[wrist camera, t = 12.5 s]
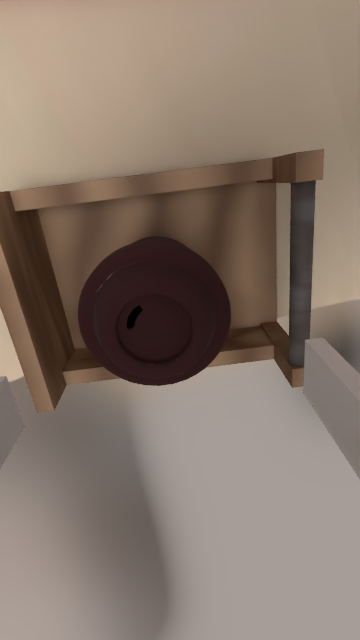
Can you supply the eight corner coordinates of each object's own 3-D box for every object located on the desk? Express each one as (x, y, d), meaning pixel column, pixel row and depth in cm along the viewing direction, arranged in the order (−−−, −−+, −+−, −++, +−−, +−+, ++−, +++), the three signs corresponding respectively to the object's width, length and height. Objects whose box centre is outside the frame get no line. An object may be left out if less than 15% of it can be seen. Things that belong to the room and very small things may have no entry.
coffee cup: (222, 289, 35) (261, 359, 21) (141, 331, 36) (127, 422, 22) (178, 200, 31) (189, 215, 17) (89, 251, 33) (35, 301, 19)
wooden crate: (271, 160, 31) (323, 149, 21) (273, 331, 38) (313, 384, 28) (20, 191, 31) (-47, 196, 21) (67, 357, 38) (33, 420, 28)
